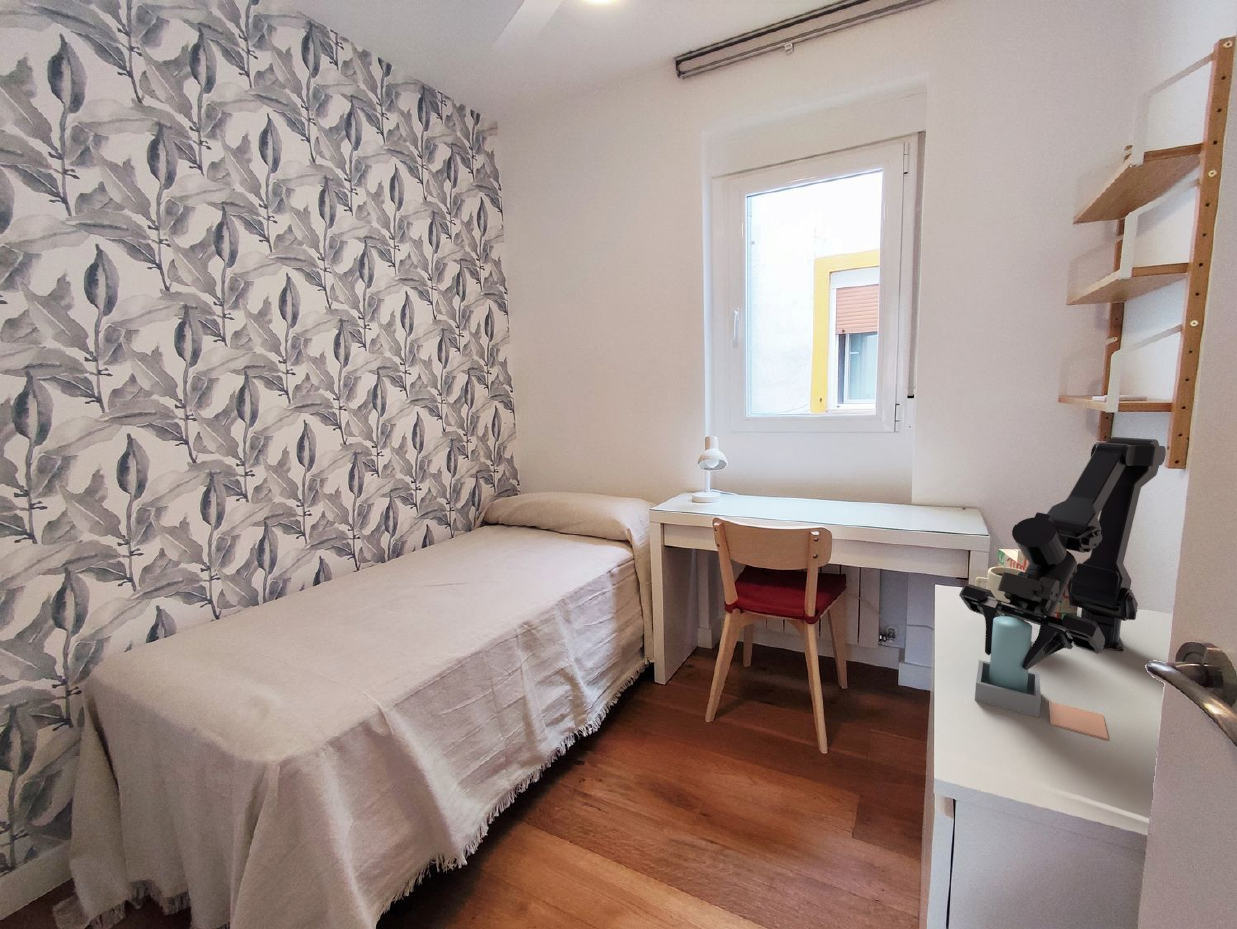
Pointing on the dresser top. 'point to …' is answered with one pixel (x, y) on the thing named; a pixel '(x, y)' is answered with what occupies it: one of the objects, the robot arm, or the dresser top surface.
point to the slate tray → (1008, 692)
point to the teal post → (1009, 653)
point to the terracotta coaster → (1077, 720)
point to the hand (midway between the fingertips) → (1005, 660)
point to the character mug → (997, 581)
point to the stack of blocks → (1019, 562)
